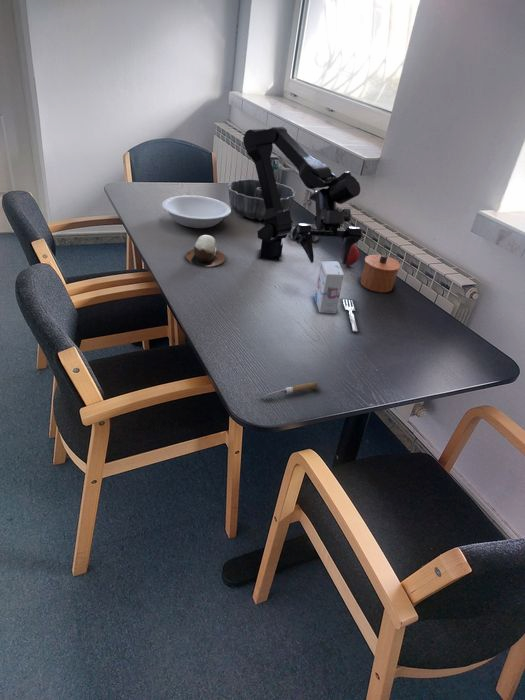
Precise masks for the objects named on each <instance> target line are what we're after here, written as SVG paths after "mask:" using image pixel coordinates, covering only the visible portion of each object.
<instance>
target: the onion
mask: <svg viewBox="0 0 525 700" xmlns="http://www.w3.org/2000/svg"><path fill="white" fill-rule="evenodd" d="M359 258H360V251H359V249H358V247H357V246H356V245H355V244H353V245H352V246H351V248H350V251H349V254H348V258H347V261H346V264H345V266H346V267H350V266H352V265H353V264H355V263H357V261H358V260H359ZM340 259H341V260H342V252H341V253H340Z"/></svg>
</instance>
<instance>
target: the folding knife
mask: <svg viewBox="0 0 525 700" xmlns="http://www.w3.org/2000/svg"><path fill="white" fill-rule="evenodd" d="M318 385H319V382H318V381H314V382H308V383H300V384H296V385H292V386H288V387H285V388H283V389H281V390H276V391H274V392H270V393H268V394H264V395H261V396H260V398H261V399H270V398H274V397H277V396H282V395H284V394H286V395H287V394H288V395H289V394H293V393H299V392H304V391H308V390H317V389H318Z"/></svg>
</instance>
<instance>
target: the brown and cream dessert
mask: <svg viewBox="0 0 525 700" xmlns="http://www.w3.org/2000/svg"><path fill="white" fill-rule="evenodd" d="M217 246H218V245H217V241H216V239H215V238H214V236H212V235H209V234H203V235H200V236H199V237H198V238H197V239H196V242H195V244H194V246H193V249H190V250H189V251H187V252H186V254H185V258H186V260H187V261H188V262H189V263H191V264H193V265H195V266H199V267H215V266H219V265H221V264H223V263H224V262H225V261H226V257H225V254H224V253H223V252H221V251H220V250H217Z"/></svg>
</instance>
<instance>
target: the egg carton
mask: <svg viewBox="0 0 525 700" xmlns="http://www.w3.org/2000/svg"><path fill="white" fill-rule="evenodd" d="M310 225H311V229H317V227H316V224H315V223H311V224H310ZM295 227H296V226H294V227H292V229H291V231H290V233H289V234H288V235H287V236H289V237H290V238H291V240H292V232H293V230H294V228H295ZM319 238H320V237H315V236H312V242H317V241H318V240H319Z"/></svg>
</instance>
